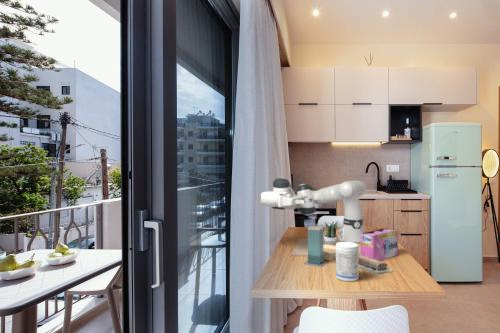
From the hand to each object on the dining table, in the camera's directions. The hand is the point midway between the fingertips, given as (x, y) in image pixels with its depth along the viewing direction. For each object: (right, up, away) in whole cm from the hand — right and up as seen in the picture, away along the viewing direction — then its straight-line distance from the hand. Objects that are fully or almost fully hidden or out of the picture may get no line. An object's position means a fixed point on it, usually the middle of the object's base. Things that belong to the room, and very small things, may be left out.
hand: (308, 201), depth 171 cm
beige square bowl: (+9, -30, -2) cm, 31 cm away
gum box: (+38, -30, -1) cm, 48 cm away
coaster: (+1, -30, -12) cm, 32 cm away
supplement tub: (+11, -30, -33) cm, 46 cm away
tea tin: (+1, -29, -12) cm, 32 cm away
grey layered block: (+26, -30, -18) cm, 44 cm away
